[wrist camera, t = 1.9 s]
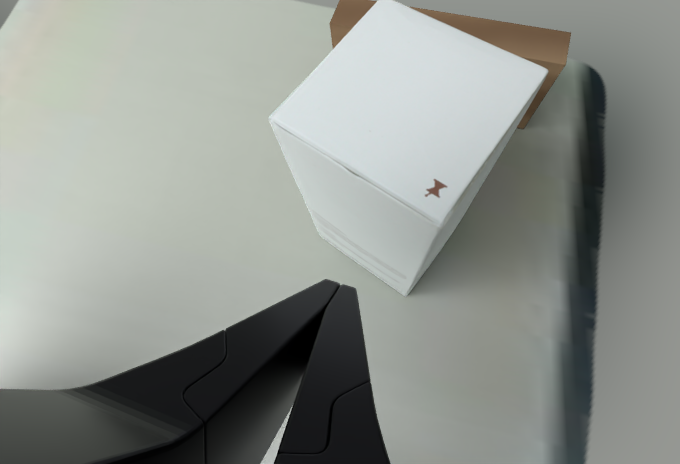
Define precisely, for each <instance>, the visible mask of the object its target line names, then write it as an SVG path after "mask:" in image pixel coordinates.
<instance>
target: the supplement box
mask: <svg viewBox="0 0 680 464" xmlns="http://www.w3.org/2000/svg"><path fill="white" fill-rule="evenodd" d="M547 74H548V69H546V68H544V67H542V66H540V65H537V64H535V63H533V62H531V61H528V60H526V59H524V58H521V57H519V56H517V55H514V54H512V53H510V52H508V51H505V50H503V49H501V48H498V47H496V46H494V45H492V44H490V43H487V42H485V41H483V40H481V39H478V38H476V37H474V36H472V35H470V34H467V33H465V32H463V31H461V30H458V29H456V28H454V27H452V26H450V25H447V24H445V23H443V22H441V21H438V20H436V19H434V18H432V17H429V16H427V15H425V14H423V13H421V12H418V11H416V10H414V9H412V8H410V7H407V6H405V5H403V4H401V3H399V2H397V1H394V0H378V1H377V2H376V3H375V4H374V5H373V6H372V7H371V9H370V10H369V11H368V12H367V13H366V14H365V15H364V16H363V17H362V18H361V19H360V20H359V22H358V23H357V24H356V25H355V26H354V27H353V28H352V29H351V30H350V31H349V32H348V34H347V35H346V36H345V37H344V38H343V39H342V40H341V41H340V42H339V43H338V44H337V45H336V47H335V48H334V49H333V50H332V51H331V52H330V53H329V54H328V55H327V56H326V58H325V59H324V60H323V61H322V62H321V63H320V64H319V65H318V66H317V67H316V68H315V70H314V71H313V72H312V73H311V74H310V75H309V76H308V77H307V78H306V79H305V80H304V81H303V82H302V83H301V84H300V85H299V86H298V87H297V88H296V89H295V90H294V91H293V92H292V93H291V94H290V95H289V96H288V97H287V98H286V99H285V100H284V101H283V103H282V104H281V105H280V106H279V107H278V108H277V109H276V110H275V111H274V112H273V113H272V114H271V115H270V116H269V118H268V120H269V122H270V124H271V127H272V129H273V131H274V134H275V136H276V138H277V141H278V143H279V145H280V148H281V150H282V152H283V154H284V157H285V159H286V161H287V163H288V166H289V168H290V170H291V172H292V175H293V177H294V179H295V181H296V183H297V185H298V188H299V190H300V192H301V195H302V197H303V199H304V201H305V204H306V206H307V208H308V210H309V212H310V215H311V217H312V219H313V222H314V224H315V226H316V229H317V231H318V233H319V235H320V236H321V237H322V238H323V239H325V240H326V241H327V242H329V243H330V244H331V245H333V246H334V247H335V248H337V249H338V250H340V251H341V252H342V253H344V254H345V255H347V256H348V257H349V258H351V259H352V260H354V261H355V262H356V263H358V264H359V265H361V266H362V267H364V268H365V269H366V270H368V271H369V272H371V273H372V274H374V275H375V276H376V277H378V278H379V279H381V280H382V281H384V282H385V283H386V284H388V285H389V286H391V287H392V288H394V289H395V290H396V291H398V292H399V293H401V294H402V295H403V296H407V295H408V294H409V293H410V291H411V290H412V289H413V287H414V286H415V285H416V283H417V282H418V281H419V279H420V278H421V276H422V275H423V274H424V272H425V271H426V270H427V268H428V267H429V266H430V264H431V263H432V262H433V260H434V259H435V257H436V256H437V255H438V253H439V252H440V250H441V249H442V248H443V246H444V245H445V243H446V242H447V240H448V239H449V237H450V236H451V234H452V233H453V231H454V230H455V228H456V227H457V225H458V224H459V222H460V221H461V219H462V218H463V216H464V214H465V213H466V211H467V209H468V208H469V206H470V204H471V203H472V201H473V199H474V197H475V196H476V194H477V192H478V191H479V189H480V187H481V186H482V184H483V182H484V181H485V179H486V177H487V176H488V174H489V172H490V171H491V169H492V168H493V166H494V164H495V163H496V161H497V159H498V158H499V156H500V155H501V153H502V151H503V150H504V148H505V146H506V145H507V143H508V141H509V140H510V138H511V136H512V134H513V133H514V131H515V129H516V128H517V126H518V124H519V123H520V121H521V119H522V118H523V116H524V114H525V113H526V111H527V109H528V108H529V106H530V104H531V103H532V101H533V99H534V97H535V96H536V94H537V92H538V91H539V89H540V87H541V85H542V84H543V82H544V80H545V78H546V76H547Z"/></svg>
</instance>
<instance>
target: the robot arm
mask: <svg viewBox="0 0 680 464" xmlns="http://www.w3.org/2000/svg"><path fill="white" fill-rule="evenodd" d="M293 403H294V404H293ZM292 405H293V407H292ZM291 407H292V410H291V413H290V416H289V419H288V422H287V425H286V428H285V431H284V434H283V437H282V440H281V443H280V446H279V449H278V453H277V456H276V459H275V462H274V464H390V461H389V457H388V454H387V451H386V448H385V444H384V441H383V437H382V434H381V430H380V426H379V422H378V419H377V414H376V409H375V404H374V398H373V392H372V386H371V383H370V374H369V367H368V361H367V355H366V348H365V342H364V335H363V329H362V322H361V316H360V309H359V303H358V296H357V290H356V289H355V288H354V287H350V286H347V285H344V284H342V285H341V286H340V284H339V283H337V282H334V281H331V280H328V279H325V280H323V281H321V282H319V283H317V284H315V285H313V286H311V287H309V288H307V289H305V290H303V291H301V292H299V293H297V294H295V295H293V296H291V297H289V298H287V299H285V300H283V301H281V302H279V303H277V304H275V305H272V306H270V307H268V308H266V309H264V310H262V311H260V312H258V313H256V314H254V315H252V316H250V317H248V318H246V319H244V320H242V321H240V322H238V323H236V324H234V325H232V326H230V327H228V328H226V330H222V331H220V332H218V333H216V334H214V335H212V336H210V337H208V338H206V339H203V340H201V341H199V342H197V343H195V344H193V345H191V346H188V347H186V348H183V349H181V350H179V351H176V352H174V353H171V354H169V355H166V356H164V357H161V358H159V359H156V360H154V361H151V362H148V363H146V364H143V365H141V366H138V367H136V368H133V369H130V370H128V371H125V372H123V373H120V374H118V375H115V376H112V377H110V378H107V379H105V380H102V381H99V382H96V383H93V384H90V385H86V386H82V387H78V388H73V389H64V390H24V389H0V464H260V463H261V461H262V460H263V458H264V456H265V454H266V452H267V451H268V449H269V447H270V445H271V443H272V442H273V440H274V438H275V436H276V434H277V432H278V431H279V429H280V427H281V425H282V423H283V422H284V420H285V418H286V416H287V414H288V413H289V411H290V409H291Z"/></svg>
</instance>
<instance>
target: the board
mask: <svg viewBox="0 0 680 464" xmlns="http://www.w3.org/2000/svg"><path fill="white" fill-rule="evenodd" d="M376 2H377V1H370V0H340V1H339V3H338V5H337V8H336V10H335V12H334V15H333V17H332V19H331V21H330V29H331V37H332V45H333V49H334V48H335V47H336V45H337V44H338V43H339V42H340V41H341V40H342V39H343V38H344V37H345V36H346V35H347V34H348V32H349V31H350V30H351V29H352V28H353V27H354V26H355V25H356V24H357V23H358V22H359V20H360V19H361V18H362V17H363V16H364V15H365V14H366V13H367V12H368V11H369V10H370V9H371V7H372V6H373V5H374V4H375V3H376ZM407 7H408V6H407ZM410 8H412V9H414V10H416V11H418V12H421V13H423V14H425V15H427V16H429V17H432V18H434V19H436V20H438V21H441V22H443V23H445V24H447V25H450V26H452V27H454V28H456V29H458V30H461V31H463V32H465V33H467V34H470V35H472V36H474V37H476V38H478V39H481V40H483V41H485V42H487V43H490V44H492V45H494V46H496V47H498V48H501V49H503V50H505V51H508V52H510V53H512V54H514V55H517V56H519V57H521V58H524V59H526V60H528V61H531V62H533V63H535V64H537V65H540V66H542V67H544V68H546V69H548V74H547V76H546V78H545V80H544V82H543V84H542V85H541V87H540V89H539V91H538V92H537V94H536V96H535V97H534V99H533V101H532V103H531V104H530V106H529V108H528V109H527V111H526V113H525V114H524V116H523V118H522V119H521V121H520V123H519V124H518V126H517V128H521V129H524V127H525V126H526V124H527V123H528V121H529V120H530V118H531V117H532V115H533V114H534V112H535V111H536V109H537V108H538V106H539V104H540V103H541V101H542V100H543V98H544V97H545V95H546V94H547V92H548V91H549V89H550V88H551V86H552V85H553V83H554V82H555V80H556V79H557V77H558V76H559V74H560V73H561V71H562V69H563V68H564V66H565V65H566V60H567V54H568V47H569V42H570V36H571V33H569V32H563V31H557V30H551V29H545V28H539V27H532V26H525V25H519V24H514V23H508V22H501V21H495V20H489V19H483V18H476V17H470V16H464V15H457V14H451V13H445V12H439V11H433V10H427V9H420V8H414V7H410Z"/></svg>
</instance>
